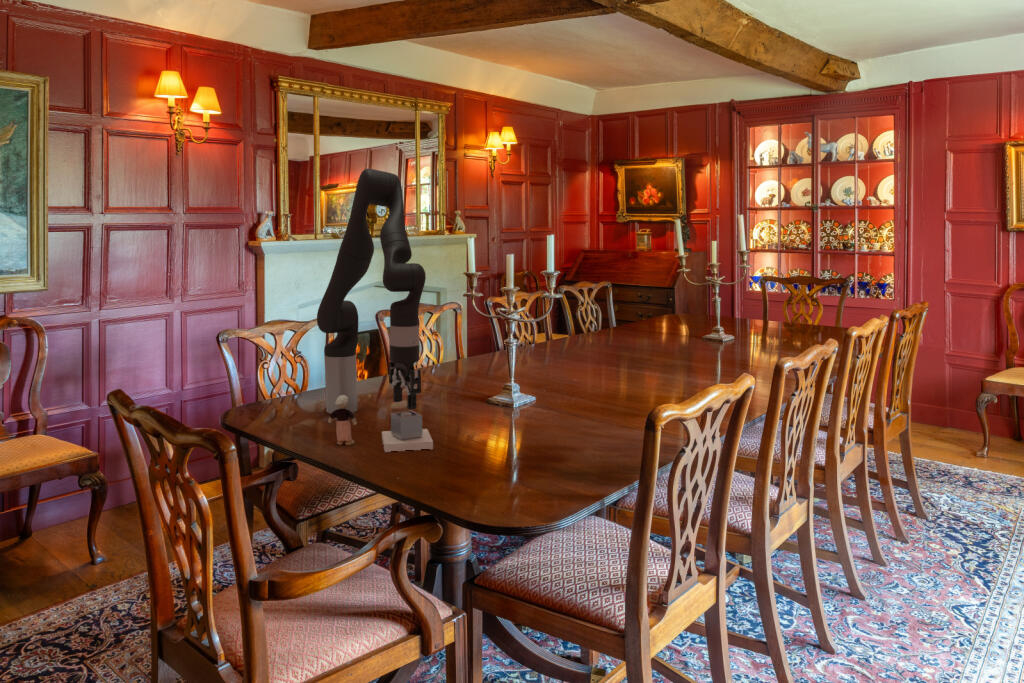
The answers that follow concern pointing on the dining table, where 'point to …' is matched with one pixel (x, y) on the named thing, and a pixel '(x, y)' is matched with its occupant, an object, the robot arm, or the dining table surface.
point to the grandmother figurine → (343, 421)
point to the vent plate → (406, 440)
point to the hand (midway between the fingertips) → (404, 405)
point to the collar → (406, 425)
